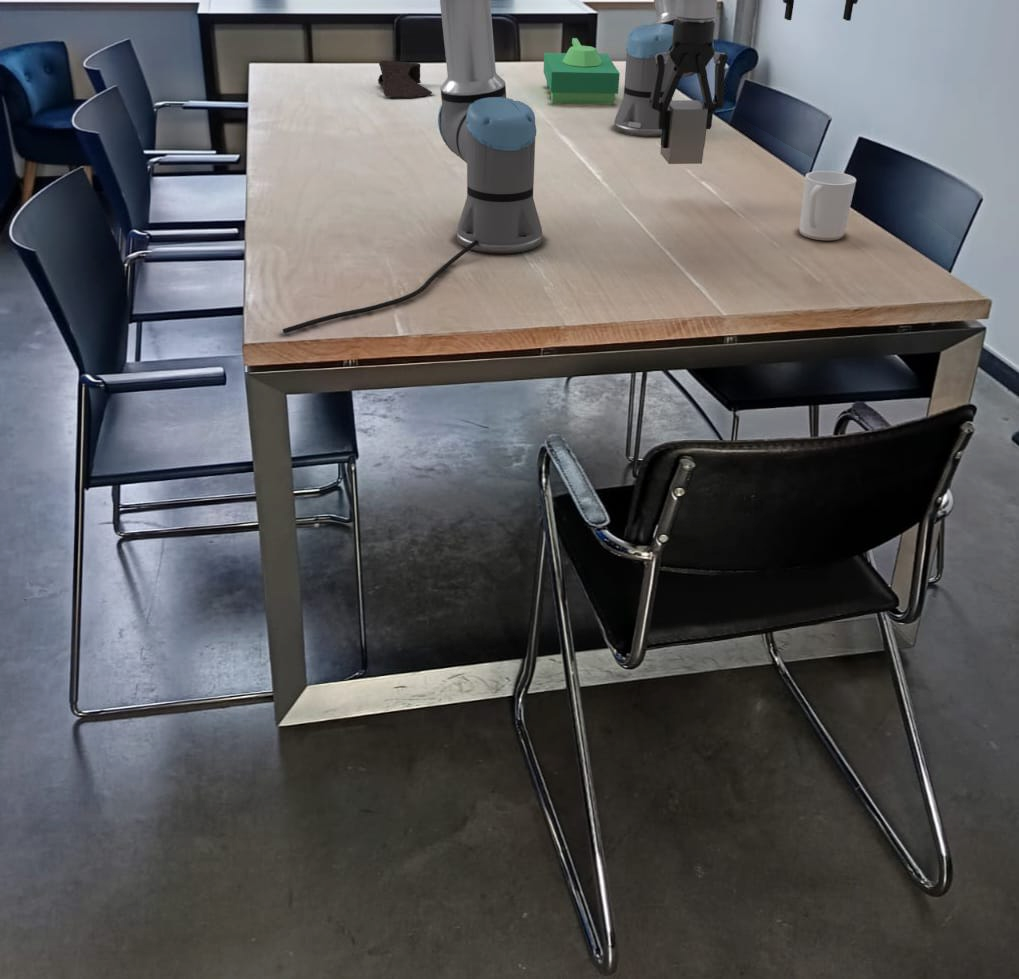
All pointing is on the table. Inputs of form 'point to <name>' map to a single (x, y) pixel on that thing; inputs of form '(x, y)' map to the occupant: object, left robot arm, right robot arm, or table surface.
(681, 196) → the table surface
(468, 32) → the left robot arm
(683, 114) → the brick
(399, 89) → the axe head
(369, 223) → the table surface
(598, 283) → the table surface
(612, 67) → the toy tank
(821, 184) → the mug
